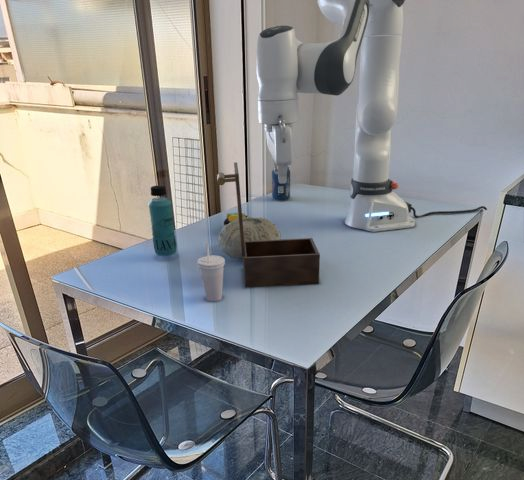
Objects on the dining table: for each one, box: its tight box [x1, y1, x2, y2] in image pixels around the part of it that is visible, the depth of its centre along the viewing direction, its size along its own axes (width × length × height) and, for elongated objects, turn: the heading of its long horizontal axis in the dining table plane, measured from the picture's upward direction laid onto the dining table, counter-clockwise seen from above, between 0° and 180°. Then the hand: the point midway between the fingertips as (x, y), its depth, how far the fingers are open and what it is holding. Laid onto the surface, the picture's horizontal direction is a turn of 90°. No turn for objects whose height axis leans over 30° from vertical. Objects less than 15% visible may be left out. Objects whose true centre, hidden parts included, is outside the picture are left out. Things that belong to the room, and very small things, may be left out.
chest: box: [242, 237, 321, 289], centre depth 129 cm, size 19×12×8 cm, turn 94°
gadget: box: [223, 211, 248, 226], centre depth 163 cm, size 6×13×6 cm, turn 174°
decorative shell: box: [217, 216, 281, 260], centre depth 142 cm, size 18×18×10 cm
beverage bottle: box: [147, 184, 178, 257], centre depth 140 cm, size 6×7×20 cm
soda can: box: [271, 166, 291, 202], centre depth 191 cm, size 7×7×12 cm
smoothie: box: [197, 241, 226, 302], centre depth 117 cm, size 6×6×14 cm
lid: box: [216, 161, 245, 257], centre depth 121 cm, size 19×12×5 cm
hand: (280, 178), depth 118 cm, fingers open, 8 cm apart
